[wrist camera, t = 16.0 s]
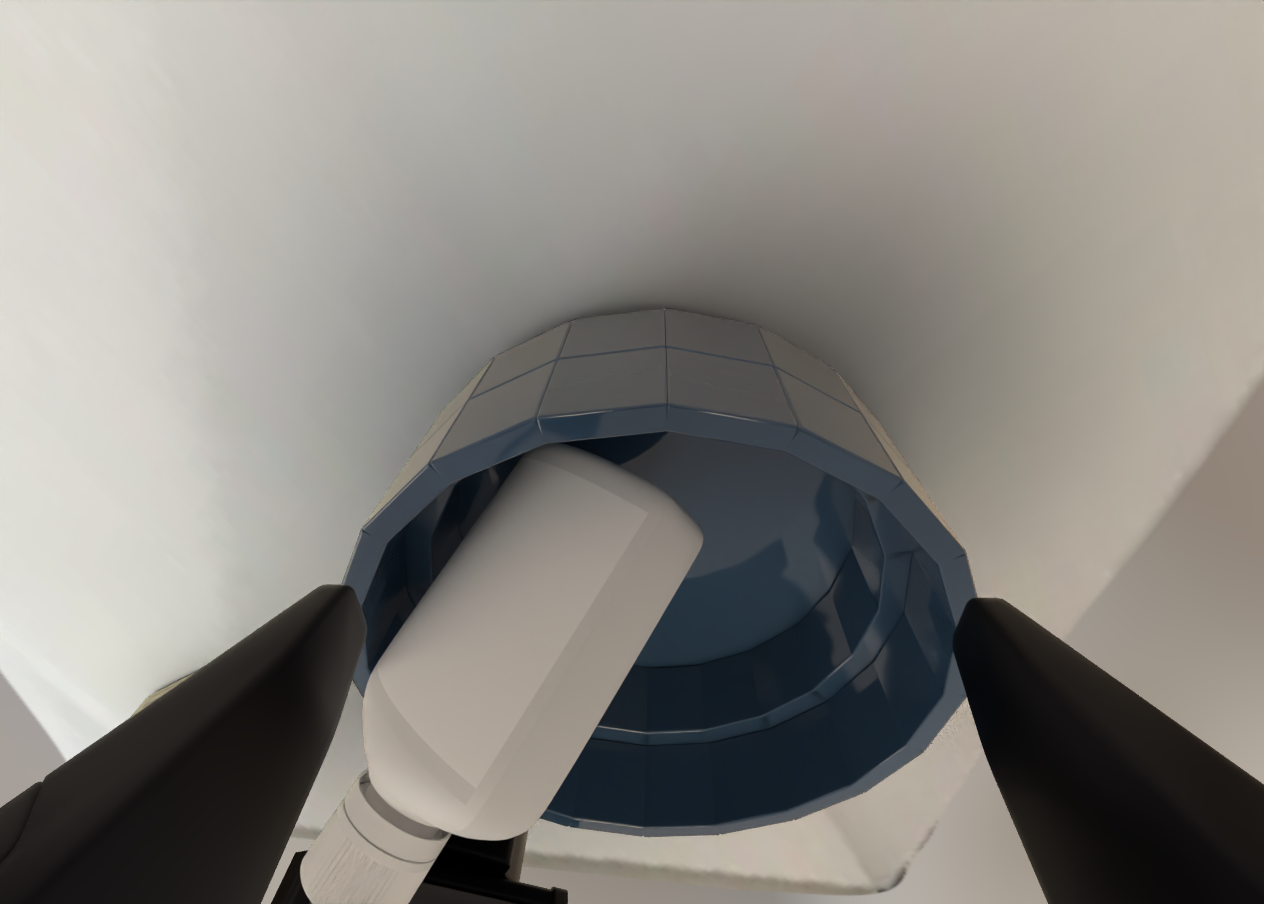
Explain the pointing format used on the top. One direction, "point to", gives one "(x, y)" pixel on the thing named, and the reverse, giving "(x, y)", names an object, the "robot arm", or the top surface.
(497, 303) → the top surface
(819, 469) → the bowl
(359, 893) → the eye dropper bottle
